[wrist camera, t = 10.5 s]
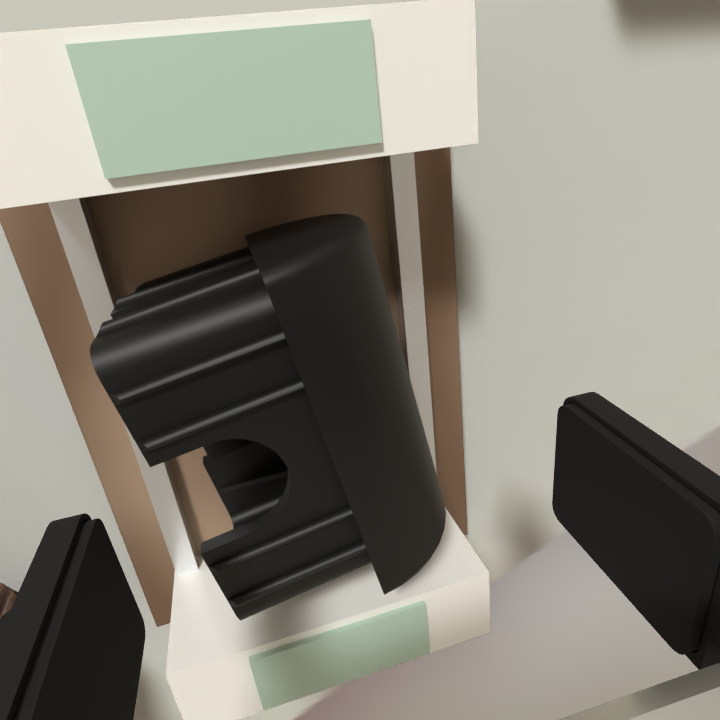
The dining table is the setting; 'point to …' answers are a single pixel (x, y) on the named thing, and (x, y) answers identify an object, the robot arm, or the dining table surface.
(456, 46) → the mounted modules
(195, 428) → the end cap
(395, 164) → the rail
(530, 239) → the dining table surface
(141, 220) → the rail board
